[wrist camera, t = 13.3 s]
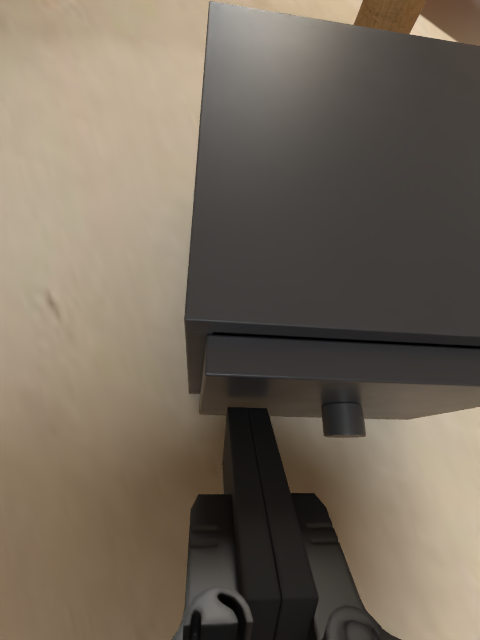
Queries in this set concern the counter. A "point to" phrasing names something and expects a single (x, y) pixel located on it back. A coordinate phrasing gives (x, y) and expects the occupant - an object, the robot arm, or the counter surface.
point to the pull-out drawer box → (337, 379)
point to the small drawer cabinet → (334, 185)
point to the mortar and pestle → (389, 14)
